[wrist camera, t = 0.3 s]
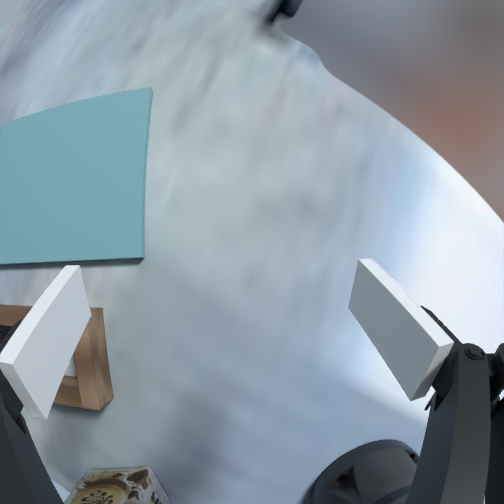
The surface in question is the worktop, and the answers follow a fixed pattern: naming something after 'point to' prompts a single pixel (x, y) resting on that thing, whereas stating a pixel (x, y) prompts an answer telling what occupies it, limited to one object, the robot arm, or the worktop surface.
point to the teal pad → (75, 181)
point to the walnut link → (79, 362)
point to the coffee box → (119, 487)
